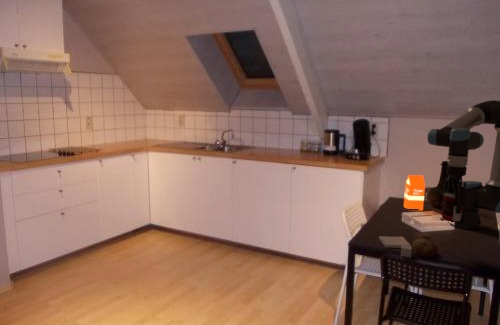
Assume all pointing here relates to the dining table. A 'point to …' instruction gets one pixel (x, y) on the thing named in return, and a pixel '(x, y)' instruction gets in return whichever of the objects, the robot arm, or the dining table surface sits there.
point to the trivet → (393, 241)
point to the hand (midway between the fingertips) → (451, 217)
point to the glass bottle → (438, 188)
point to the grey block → (406, 251)
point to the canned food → (449, 207)
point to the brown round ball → (422, 236)
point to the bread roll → (423, 247)
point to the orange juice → (414, 192)
